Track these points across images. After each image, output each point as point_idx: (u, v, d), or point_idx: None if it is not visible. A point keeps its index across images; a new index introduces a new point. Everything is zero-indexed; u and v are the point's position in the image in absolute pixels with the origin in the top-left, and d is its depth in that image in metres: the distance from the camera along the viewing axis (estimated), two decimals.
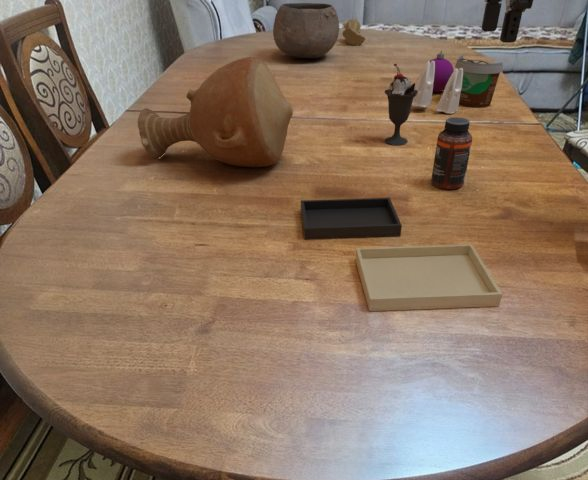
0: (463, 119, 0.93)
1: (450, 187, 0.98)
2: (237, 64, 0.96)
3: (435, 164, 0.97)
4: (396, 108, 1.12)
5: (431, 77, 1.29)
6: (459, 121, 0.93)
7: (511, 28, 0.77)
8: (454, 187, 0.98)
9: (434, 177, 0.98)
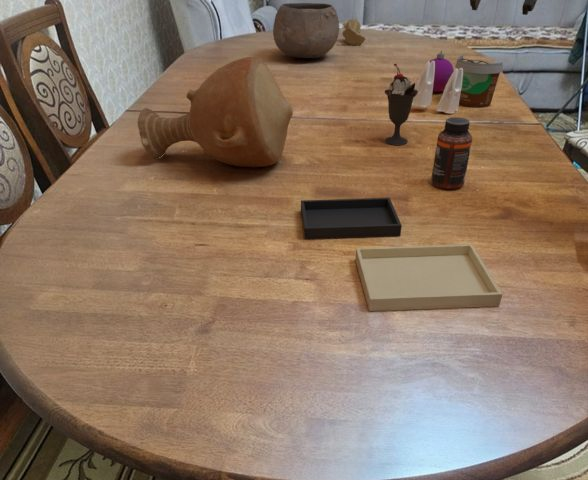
0: (463, 119, 0.93)
1: (450, 187, 0.98)
2: (237, 64, 0.96)
3: (435, 164, 0.97)
4: (396, 108, 1.12)
5: (431, 77, 1.29)
6: (459, 121, 0.93)
7: None
8: (454, 187, 0.98)
9: (434, 177, 0.98)
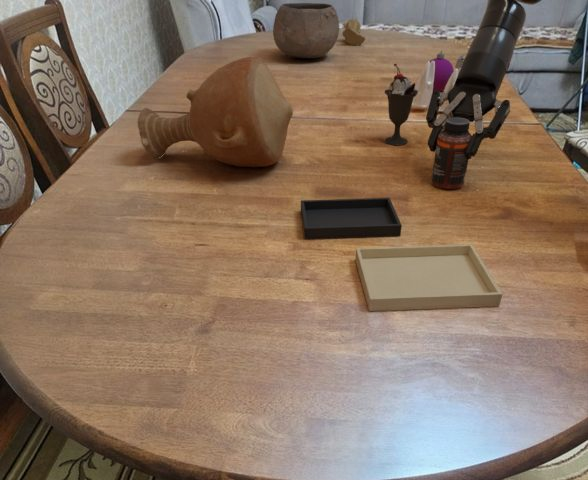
0: (463, 119, 0.93)
1: (450, 187, 0.98)
2: (237, 64, 0.96)
3: (435, 164, 0.97)
4: (396, 108, 1.12)
5: (431, 77, 1.29)
6: (459, 121, 0.93)
7: None
8: (454, 187, 0.98)
9: (434, 177, 0.98)
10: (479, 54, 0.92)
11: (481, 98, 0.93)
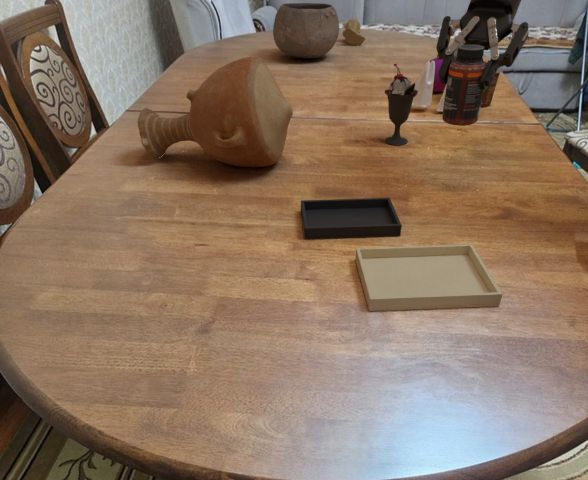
0: (477, 45, 0.86)
1: (463, 123, 0.90)
2: (237, 64, 0.96)
3: (446, 98, 0.90)
4: (396, 108, 1.12)
5: (431, 77, 1.29)
6: (473, 47, 0.85)
7: None
8: (467, 123, 0.90)
9: (445, 112, 0.91)
10: None
11: (497, 22, 0.86)
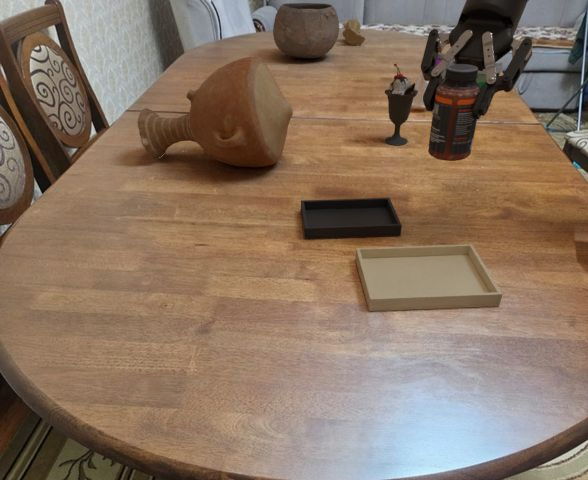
0: (469, 66, 0.70)
1: (452, 158, 0.75)
2: (237, 64, 0.96)
3: (433, 128, 0.74)
4: (396, 108, 1.12)
5: None
6: (464, 68, 0.70)
7: None
8: (458, 158, 0.75)
9: (432, 145, 0.76)
10: None
11: (493, 38, 0.70)
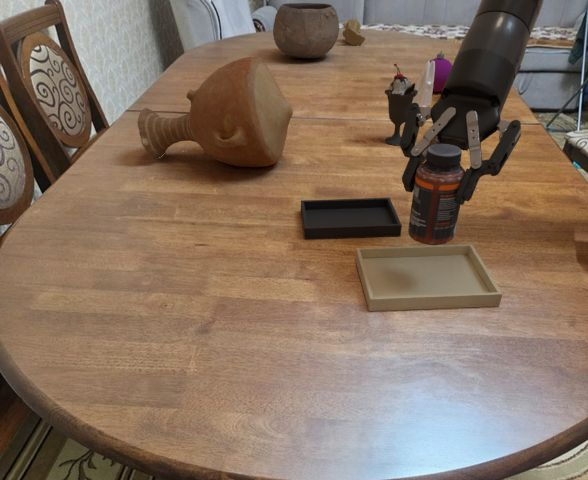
0: (452, 147, 0.64)
1: (434, 243, 0.68)
2: (237, 64, 0.96)
3: (413, 210, 0.68)
4: (396, 108, 1.12)
5: (431, 77, 1.29)
6: (447, 151, 0.63)
7: None
8: (440, 243, 0.69)
9: (412, 227, 0.69)
10: (476, 52, 0.63)
11: (479, 117, 0.64)
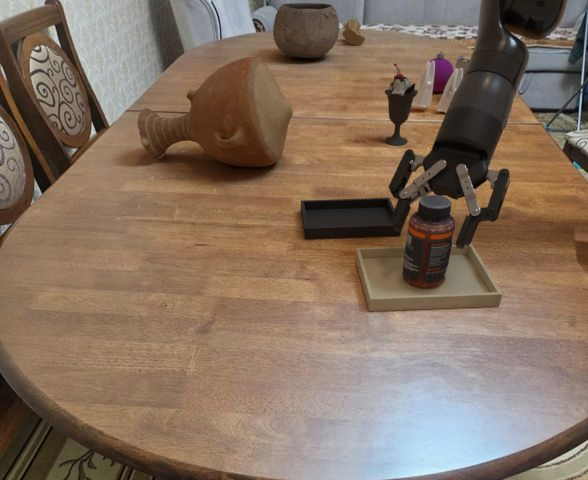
0: (443, 199, 0.68)
1: (427, 286, 0.73)
2: (237, 64, 0.96)
3: (406, 255, 0.72)
4: (396, 108, 1.12)
5: (431, 77, 1.29)
6: (437, 203, 0.68)
7: None
8: (432, 286, 0.73)
9: (405, 271, 0.73)
10: (465, 110, 0.67)
11: (468, 169, 0.68)
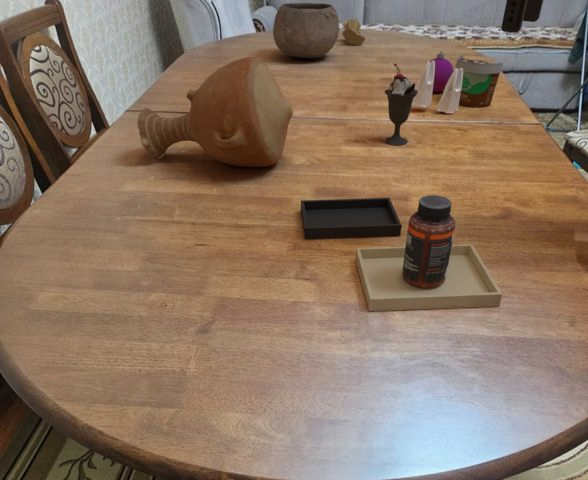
0: (443, 199, 0.68)
1: (427, 286, 0.73)
2: (237, 64, 0.96)
3: (406, 255, 0.72)
4: (396, 108, 1.12)
5: (431, 77, 1.29)
6: (437, 203, 0.68)
7: (509, 14, 0.65)
8: (432, 286, 0.73)
9: (405, 271, 0.73)
10: None
11: None
